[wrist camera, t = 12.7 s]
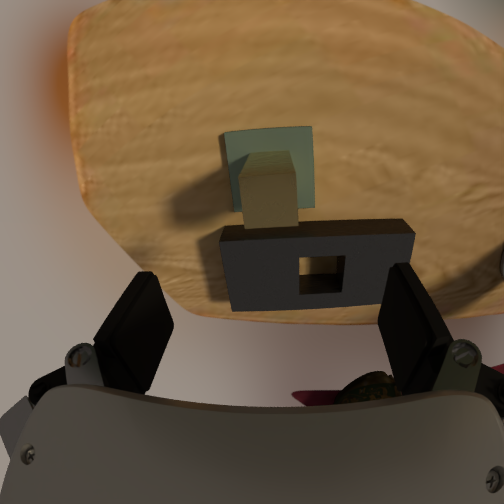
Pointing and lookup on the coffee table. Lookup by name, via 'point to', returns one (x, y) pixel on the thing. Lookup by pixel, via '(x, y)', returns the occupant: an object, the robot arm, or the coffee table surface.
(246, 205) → the brass plug
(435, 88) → the coffee table surface
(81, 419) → the robot arm
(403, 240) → the dark square-hole plate
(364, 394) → the cup
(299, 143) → the green mat
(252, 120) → the coffee table surface
